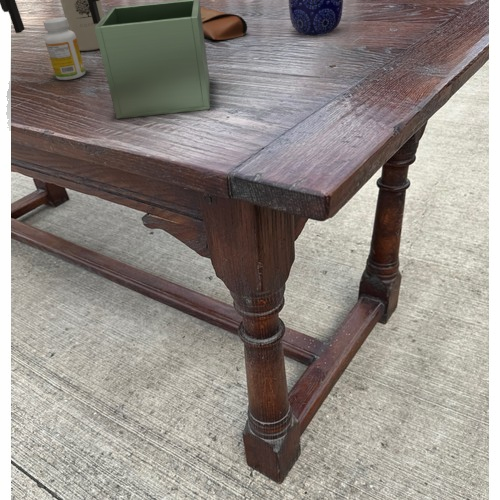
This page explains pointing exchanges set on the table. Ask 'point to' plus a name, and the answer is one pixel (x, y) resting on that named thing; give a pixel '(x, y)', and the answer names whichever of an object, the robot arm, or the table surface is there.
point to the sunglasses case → (222, 25)
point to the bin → (155, 58)
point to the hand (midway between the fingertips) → (58, 26)
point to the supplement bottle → (63, 49)
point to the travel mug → (82, 22)
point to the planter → (315, 15)
